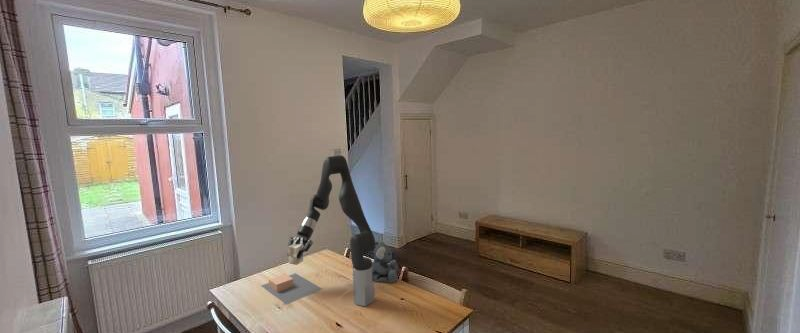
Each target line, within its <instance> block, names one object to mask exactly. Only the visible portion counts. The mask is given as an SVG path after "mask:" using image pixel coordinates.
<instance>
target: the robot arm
mask: <svg viewBox="0 0 800 333" xmlns="http://www.w3.org/2000/svg"><path fill="white" fill-rule="evenodd" d="M321 169H322V170H321V174H320V181H319V184H318V188H317V191H316V194H314V195H312V196H311V197H310V202H309V206H308V211H307V213H306V215H305V217H304V219H303V221H302V222H301V223H300V226H299V228H298V230H297V233H296V236H294V237H293V236H290V237H289V240H288V243H287V244H288V245H287V248H288V247H289V246H291V245H293V244H300V245H301V248H300V250H299V252H298V254H297V258H298V259H300V258H301V256H302V254H303V255H304V252H309V249H310V248H311V247H312V245H313V244H314V241H313V240H311V238H312V235H313V233H314V231H315V229H316V226H317V224H318V221H319V219H320V216H321V213H320V212H319V211H318V210H317V209H319V210H321V211H325V210H326V209H328V208H329V205H330V195H331V192H332V189H333V184H332V181H331V179H330V176H331V175H337V174H340V177H341V186H340V191H339V194H338V201H339V204H340V205H339V206H340V207H341V209H342V212H343V213H344V214H345V216H347V217H348V218H349V219H350V220H351V222H353V223H354V224H355V225H356V227H357V229H358V230H359V233H357V234H353V235H352V236H351V237H350V241H349V246H350V259H351V264H352V281H353V284H352V285H353V286H352V287H353V303H354V305H356V306H363V307H367V306H369V305H370V304H372V303H374V302H375V282H373V279H372V262H373V260H372V259H371V258H370V257H365V256H364V254H365V253H368V252H371V251H374V250H375V248H376V239H375V235H374V234H373V231H372V229H371V227H370V225H369V223H368V221H367V219H366V216H365V214H364V211H363V208H362V205H361V202H360V198H359V196H358V193H357V191H356V188H355V186H354V183H353V181H352V176H351V173H350V169H349V164H348V161H347V159H346V158H345V156H344V155H332V156H331V155H330V156H327V157H326V158H325V159H324V160H323V163H322V168H321ZM287 257H288V258H289V253H288V252H287Z"/></svg>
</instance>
